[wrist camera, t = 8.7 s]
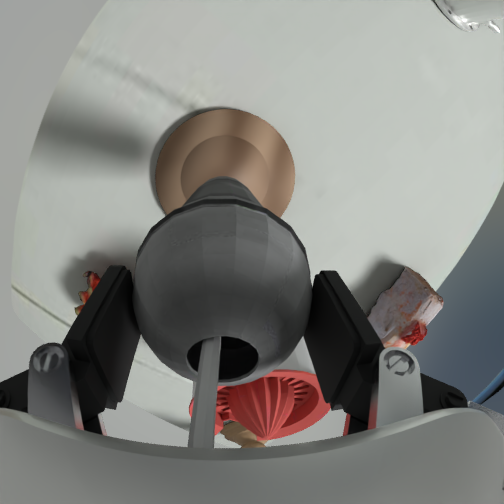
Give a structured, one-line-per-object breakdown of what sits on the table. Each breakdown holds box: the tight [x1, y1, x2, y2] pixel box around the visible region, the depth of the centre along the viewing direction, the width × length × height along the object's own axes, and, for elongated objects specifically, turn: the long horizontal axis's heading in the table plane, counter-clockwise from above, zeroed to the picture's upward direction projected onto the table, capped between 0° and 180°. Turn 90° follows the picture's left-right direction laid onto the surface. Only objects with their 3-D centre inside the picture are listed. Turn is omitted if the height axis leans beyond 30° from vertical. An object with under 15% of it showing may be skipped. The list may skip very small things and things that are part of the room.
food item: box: [367, 267, 443, 349], centre depth 38 cm, size 14×8×10 cm, turn 151°
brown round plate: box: [155, 109, 295, 218], centre depth 30 cm, size 16×16×1 cm
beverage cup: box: [132, 176, 313, 448], centre depth 12 cm, size 7×7×20 cm
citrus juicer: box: [189, 337, 331, 441], centre depth 32 cm, size 16×17×20 cm
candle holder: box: [220, 421, 268, 448], centre depth 46 cm, size 11×11×24 cm
